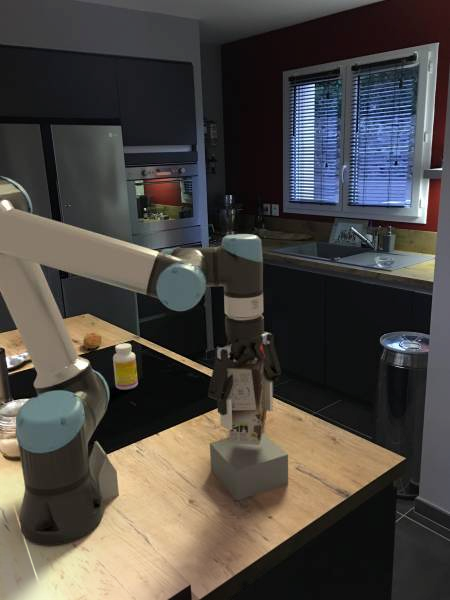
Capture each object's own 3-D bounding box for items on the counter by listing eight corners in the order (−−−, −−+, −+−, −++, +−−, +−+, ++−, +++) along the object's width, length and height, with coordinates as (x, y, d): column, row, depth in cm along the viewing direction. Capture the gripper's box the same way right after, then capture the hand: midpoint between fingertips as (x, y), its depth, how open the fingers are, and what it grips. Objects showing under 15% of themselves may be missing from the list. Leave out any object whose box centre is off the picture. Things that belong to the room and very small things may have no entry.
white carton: (101, 503, 104) (96, 458, 102) (91, 486, 110) (86, 443, 108) (119, 496, 106) (114, 452, 104) (108, 480, 112) (103, 438, 109)
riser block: (236, 502, 103) (235, 471, 102) (211, 471, 114) (209, 442, 112) (288, 484, 108) (288, 454, 107) (259, 456, 119) (258, 429, 117)
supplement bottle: (140, 388, 157) (136, 347, 154) (118, 392, 155) (114, 351, 152) (135, 379, 163) (131, 340, 160) (113, 383, 161) (110, 344, 158)
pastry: (102, 349, 191) (101, 339, 190) (83, 350, 189) (82, 340, 188) (101, 341, 200) (101, 331, 199) (83, 342, 198) (82, 333, 197)
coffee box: (260, 445, 103) (258, 369, 99) (228, 443, 105) (225, 368, 101) (266, 423, 112) (265, 352, 108) (236, 421, 113) (234, 351, 109)
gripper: (210, 333, 92) (215, 445, 98) (298, 306, 106) (298, 405, 112) (184, 324, 97) (191, 431, 103) (271, 299, 112) (273, 394, 118)
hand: (247, 418), depth 108 cm, fingers closed on coffee box, 11 cm apart
